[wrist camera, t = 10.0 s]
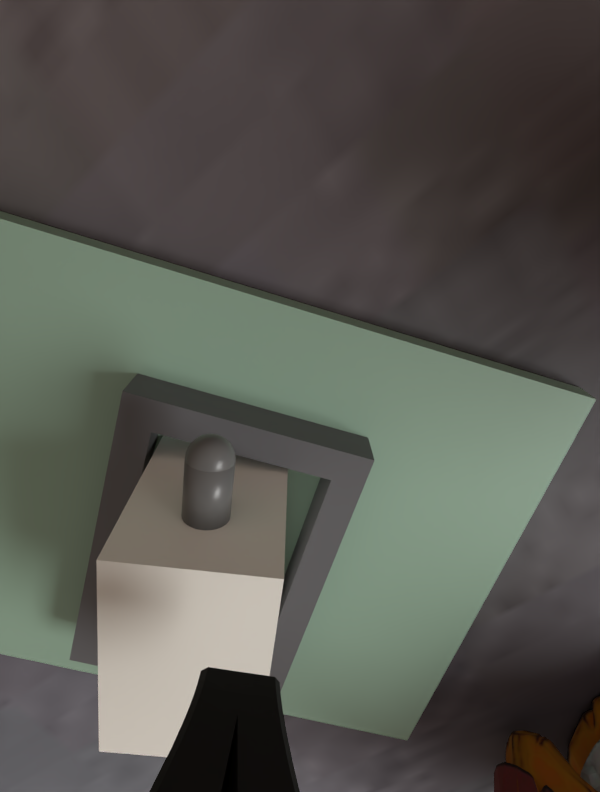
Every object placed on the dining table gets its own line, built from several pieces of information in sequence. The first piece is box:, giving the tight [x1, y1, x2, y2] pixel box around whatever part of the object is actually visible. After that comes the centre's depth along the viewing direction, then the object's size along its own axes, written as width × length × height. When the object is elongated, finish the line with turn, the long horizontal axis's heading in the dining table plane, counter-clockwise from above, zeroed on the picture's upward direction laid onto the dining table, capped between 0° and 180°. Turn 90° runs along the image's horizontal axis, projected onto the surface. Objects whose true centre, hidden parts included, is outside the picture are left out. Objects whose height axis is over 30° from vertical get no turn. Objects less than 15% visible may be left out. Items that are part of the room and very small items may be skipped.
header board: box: [0, 211, 596, 740], centre depth 18 cm, size 20×16×2 cm
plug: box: [96, 434, 288, 757], centre depth 15 cm, size 4×9×6 cm, turn 172°
